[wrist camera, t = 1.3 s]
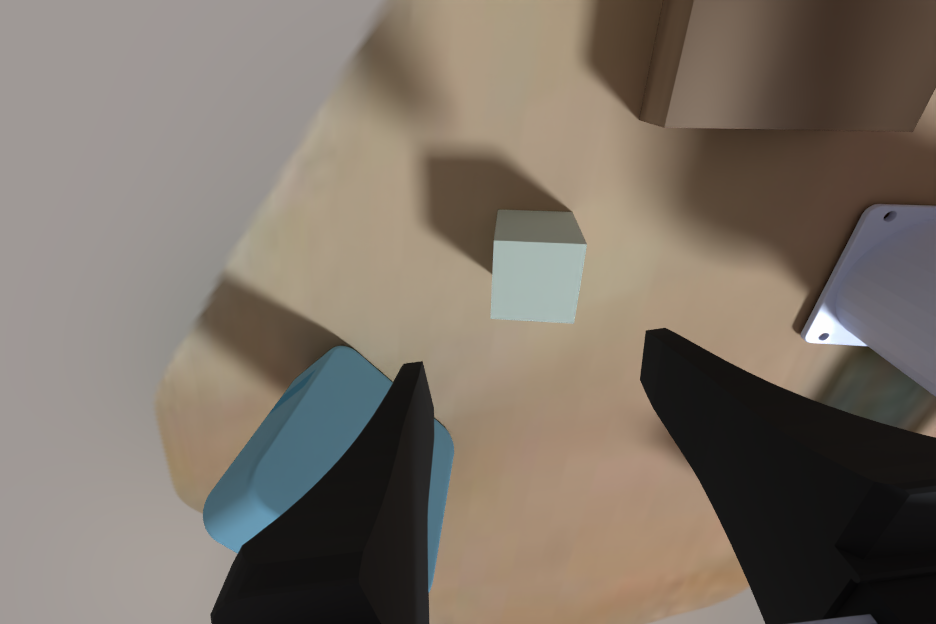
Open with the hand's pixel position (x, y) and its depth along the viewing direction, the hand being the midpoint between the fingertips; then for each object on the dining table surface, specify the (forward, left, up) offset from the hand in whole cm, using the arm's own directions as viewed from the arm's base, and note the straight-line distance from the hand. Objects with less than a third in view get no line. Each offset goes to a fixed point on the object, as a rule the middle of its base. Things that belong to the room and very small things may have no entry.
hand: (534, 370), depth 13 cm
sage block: (0, 0, -11) cm, 11 cm away
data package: (+10, +13, -11) cm, 20 cm away
